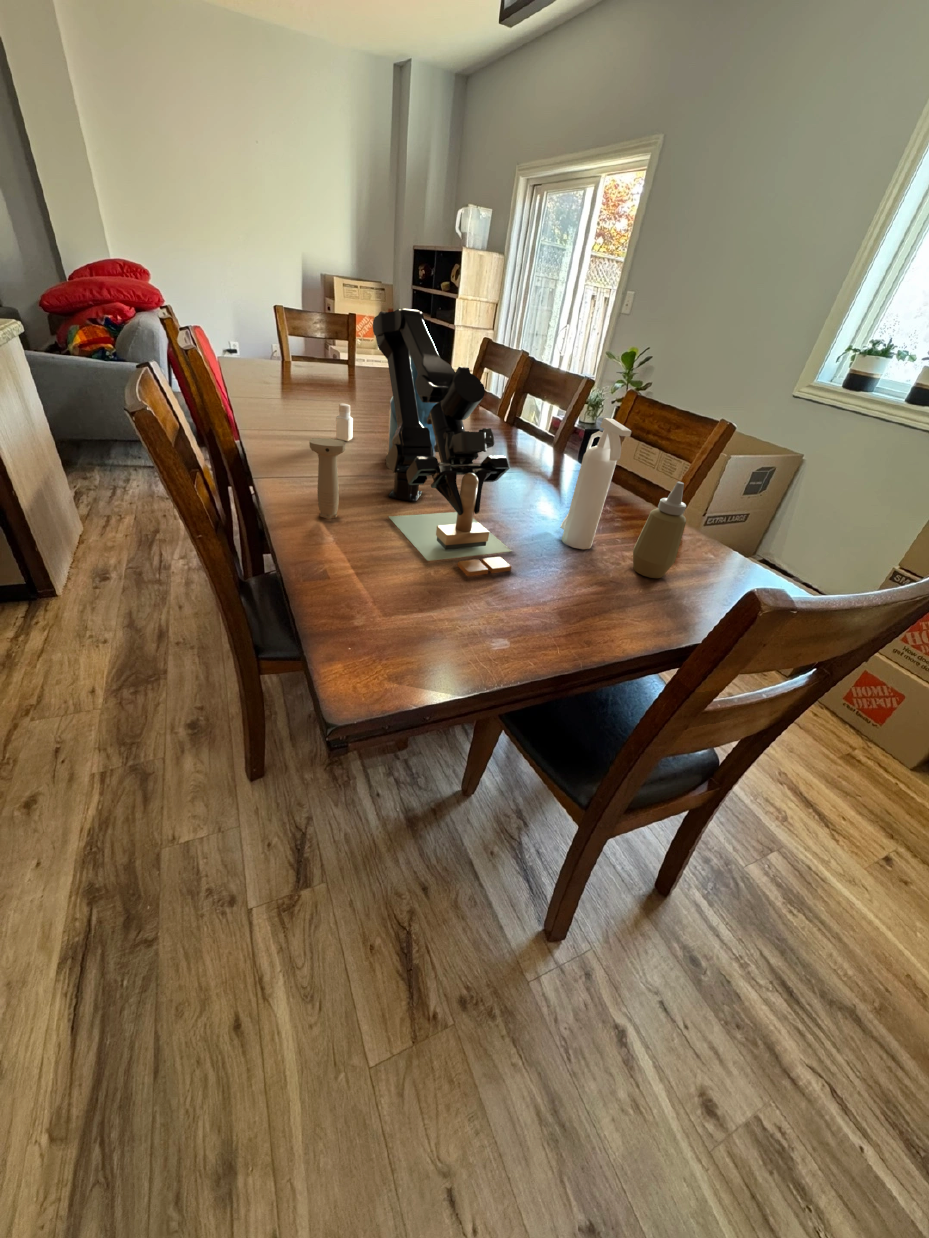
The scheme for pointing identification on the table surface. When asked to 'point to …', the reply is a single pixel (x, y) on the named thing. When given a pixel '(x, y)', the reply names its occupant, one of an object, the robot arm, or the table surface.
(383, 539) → the table surface
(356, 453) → the table surface
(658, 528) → the squeeze bottle
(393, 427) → the blue bottle
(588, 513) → the white spray bottle
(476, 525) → the rubber stamp
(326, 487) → the handle
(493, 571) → the block
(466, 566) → the block
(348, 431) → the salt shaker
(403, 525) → the mat
